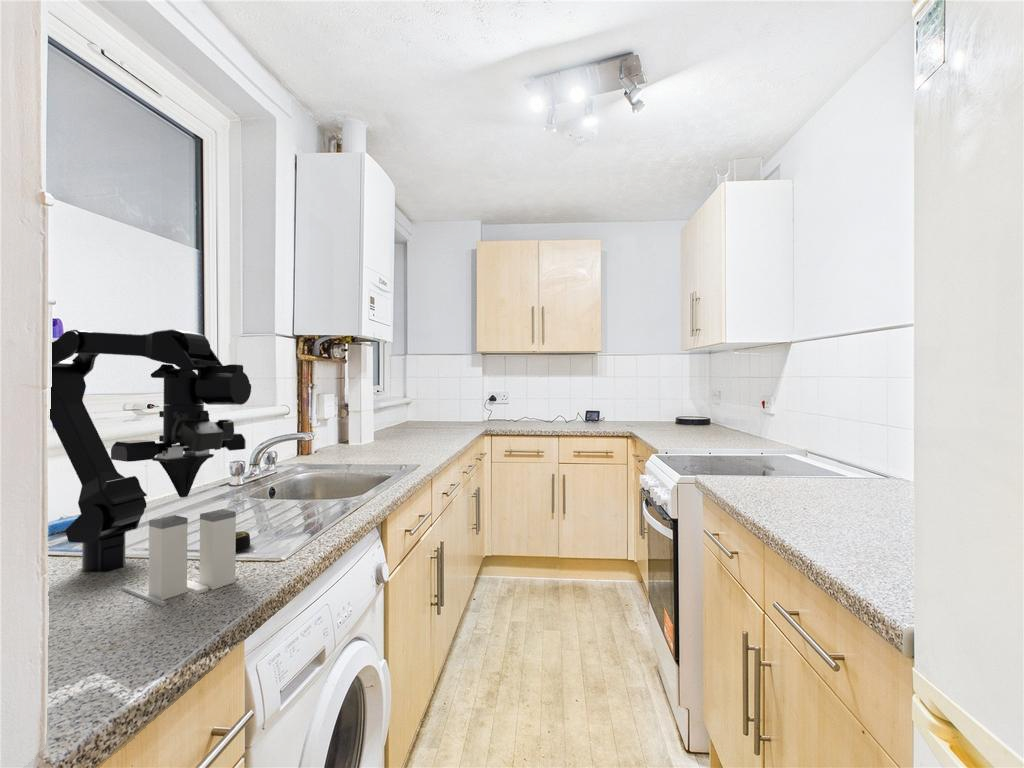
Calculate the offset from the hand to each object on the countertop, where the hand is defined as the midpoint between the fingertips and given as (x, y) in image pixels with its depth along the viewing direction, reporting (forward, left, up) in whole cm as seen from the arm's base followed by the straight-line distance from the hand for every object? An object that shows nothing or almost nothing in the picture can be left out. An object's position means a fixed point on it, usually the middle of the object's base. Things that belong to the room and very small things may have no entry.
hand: (183, 496), depth 84 cm
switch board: (+7, -4, -13) cm, 15 cm away
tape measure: (-4, +9, -13) cm, 17 cm away
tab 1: (+9, -7, -12) cm, 17 cm away
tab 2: (+12, -1, -12) cm, 17 cm away
